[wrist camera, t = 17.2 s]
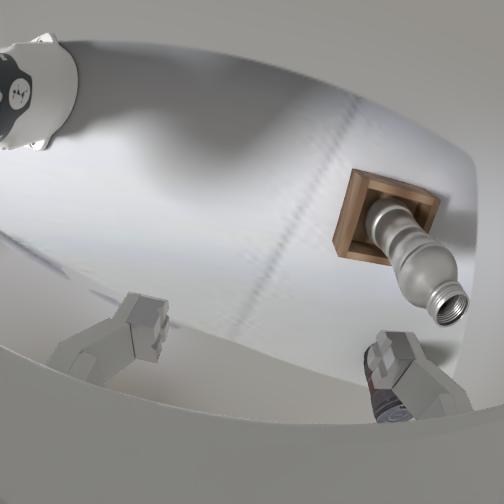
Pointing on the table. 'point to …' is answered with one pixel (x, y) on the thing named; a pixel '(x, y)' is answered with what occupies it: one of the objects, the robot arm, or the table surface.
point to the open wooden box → (359, 201)
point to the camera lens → (385, 401)
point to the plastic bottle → (417, 261)
